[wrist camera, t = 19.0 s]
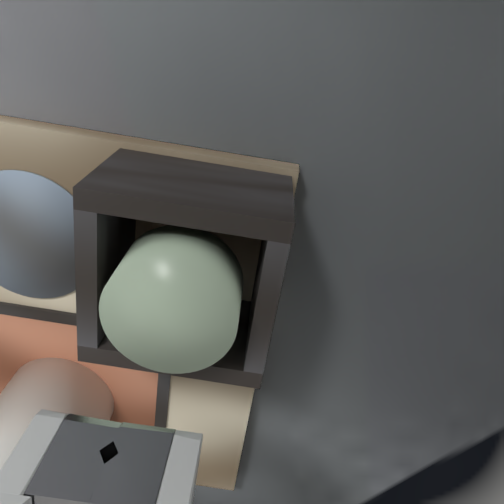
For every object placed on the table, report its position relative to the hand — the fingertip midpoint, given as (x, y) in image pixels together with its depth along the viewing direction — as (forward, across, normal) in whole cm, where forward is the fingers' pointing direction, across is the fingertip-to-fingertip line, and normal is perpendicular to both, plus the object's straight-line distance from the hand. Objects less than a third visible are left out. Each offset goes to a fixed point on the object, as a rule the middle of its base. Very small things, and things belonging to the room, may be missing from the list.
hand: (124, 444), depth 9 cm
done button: (+6, 0, 0) cm, 6 cm away
